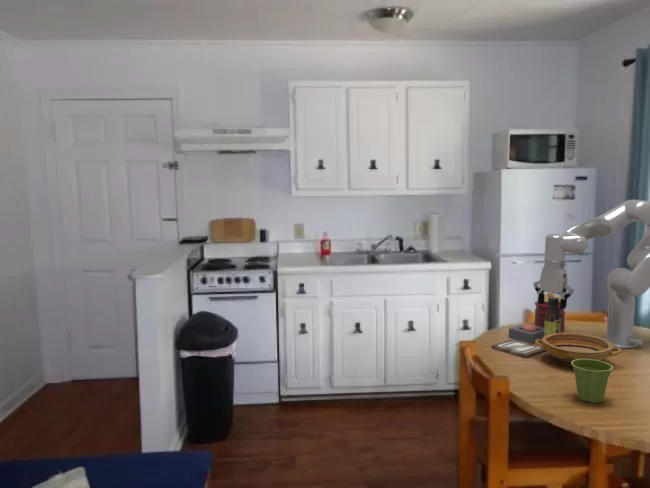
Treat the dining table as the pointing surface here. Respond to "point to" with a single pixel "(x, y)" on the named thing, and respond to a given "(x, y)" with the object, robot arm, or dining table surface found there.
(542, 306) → the canister
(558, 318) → the sauce bottle
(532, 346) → the pad
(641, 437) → the dining table surface
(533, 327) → the button
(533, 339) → the button housing
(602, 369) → the plant pot
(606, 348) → the ceramic bowl
